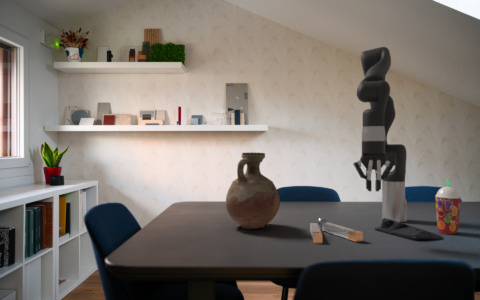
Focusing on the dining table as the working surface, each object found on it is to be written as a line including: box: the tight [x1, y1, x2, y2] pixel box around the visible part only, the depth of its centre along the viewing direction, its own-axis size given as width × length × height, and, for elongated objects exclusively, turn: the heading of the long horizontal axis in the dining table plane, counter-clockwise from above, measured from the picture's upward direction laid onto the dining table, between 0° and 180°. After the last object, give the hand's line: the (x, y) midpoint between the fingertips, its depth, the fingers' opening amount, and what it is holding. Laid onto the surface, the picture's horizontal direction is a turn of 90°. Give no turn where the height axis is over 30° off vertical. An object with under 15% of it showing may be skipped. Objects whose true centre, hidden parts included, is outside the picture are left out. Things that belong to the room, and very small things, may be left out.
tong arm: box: [321, 221, 364, 243], centre depth 135 cm, size 19×3×3 cm, turn 24°
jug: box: [225, 151, 281, 230], centre depth 151 cm, size 22×22×30 cm
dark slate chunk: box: [374, 218, 445, 241], centre depth 139 cm, size 15×22×5 cm
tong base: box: [309, 217, 327, 244], centre depth 136 cm, size 22×6×4 cm, turn 173°
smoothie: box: [434, 178, 462, 235], centre depth 141 cm, size 8×8×20 cm
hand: (373, 190), depth 128 cm, fingers closed
